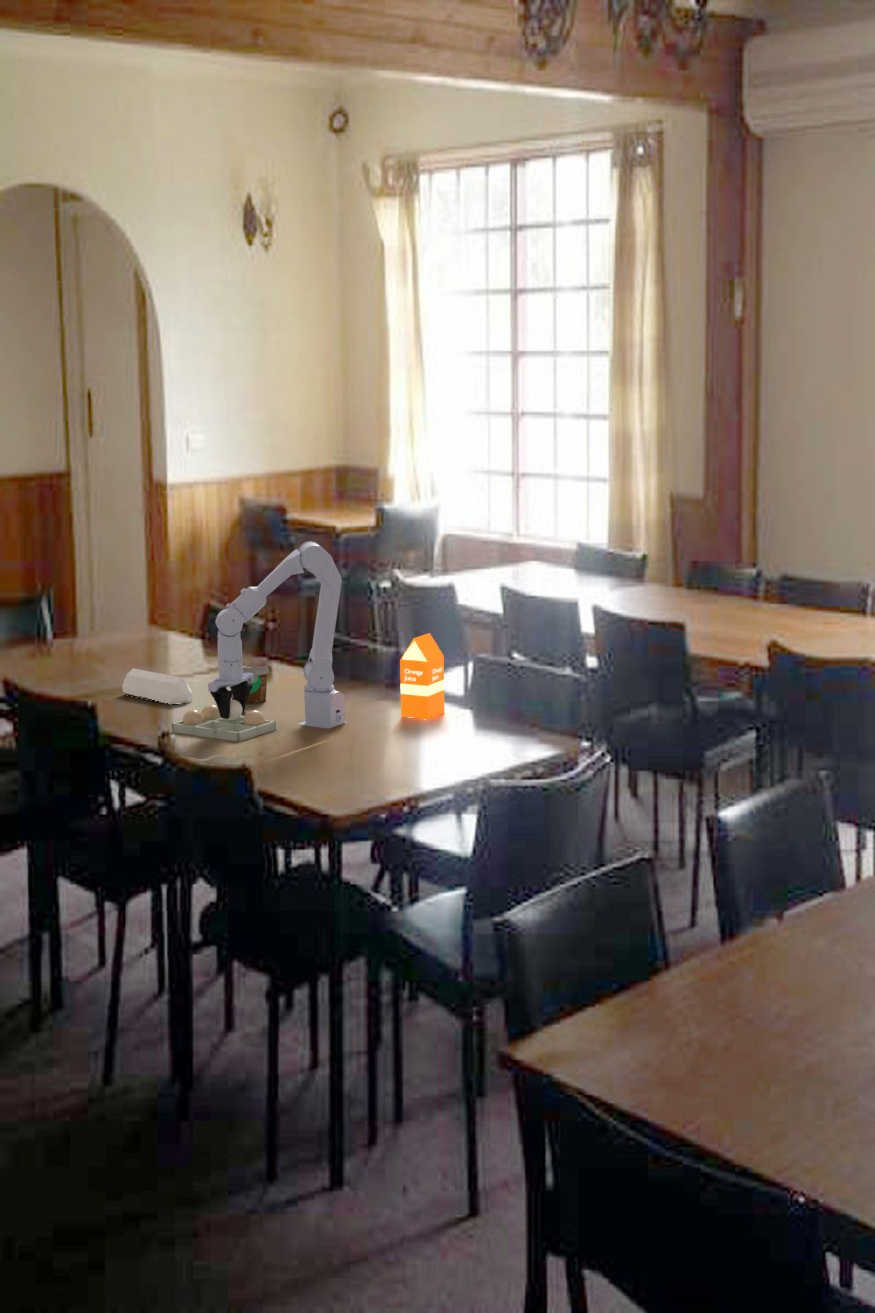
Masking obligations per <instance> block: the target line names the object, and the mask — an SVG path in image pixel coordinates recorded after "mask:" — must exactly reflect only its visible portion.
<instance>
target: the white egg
mask: <svg viewBox="0 0 875 1313" xmlns="http://www.w3.org/2000/svg"><path fill="white" fill-rule="evenodd" d="M241 714H242V705H241V704H240V702H238V701H237V700H234V699H232V698H231V701H230V716H229V718H228V720H236V719H238V718H239V717H242V715H241Z"/></svg>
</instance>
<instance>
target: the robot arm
mask: <svg viewBox="0 0 875 1313" xmlns="http://www.w3.org/2000/svg"><path fill="white" fill-rule="evenodd" d="M304 569H305V570H306V571H308V572H310V573H311V574H313V576H314V577H315V578H316V579H317V580H318V581H319V582H320V586H319V588H320V589H319V596H318V603H317V611H316V618H315V624H314V630H313V631H314V632H313V638H312V645H311V646H312V647H311V649H310V651H309V655H308V656H309V657H308V660H307V662H306V663H305V664H304V666H303V675H304V676H303V677H304V678H305V680H306V681H307V682H306V684H305V685H304V687H303V690H304V691H303V692H304V694H303V695H304V721H302V722H300V723H299V722H298V725H301V726H307V727H314V728H315V727H316V728H321V729H331V728H334V727H337V726H338V727H339V726H340V725H343V724H347V723H348V721H346V699H345V695H344V693H342V692H341V691H339V690H336V689H335V685H334V684H333V683H334V681H335V673H334V671H333V653H332V652H333V646H334V637H335V631H336V624H337V618H338V610H339V609H338V608H339V603H340V596H341V591H342V590H341V589H342V583H343V581H342V575H341V573H340V572H339V570H338V568H337V565H336V564H335V561H334V560H333V556H332V555H331V554H330V553H328V552H327V550H325V548H324V547H322V546H321V545H320V544H319V543H317V542H316V541H305V542H303V543H302V544H301V545H300V546H299V547H298V549H297V548H296V549H295V550H293V551H292V552H290V554H288V555H287V557H285V558H284V559H283V560H282V561H281V562H280V563H279V564H278V565H277V566H276V567H275V568H274V569H273V570H272V571H271V572H270V573H269V574H268V575H267V576H266V577H265V578H264V579H263V580H262V581H261V582H260V583H259V584H258V585H257V586H248V587H247V588H245V587H244V588H243V589H241V590H240V595H239V596H238V597H236V598H235V599H234V600H233V601H231V603H229V602H228V603H227V604H226V606H225V607H226V609H225V608H224V609H223V610H221V611H219V612H218V614H217V615H216V618H215V620H214V622H215V626H216V627H217V629H218V631H217V663H218V664H217V665H218V676H216V677H215V680H213V681H210V682H208V683H207V690H208V692H209V694H210V695H211V696H212V698H213V700H214V701H215V705H216V706H217V707H218V710H219V713H220V716H221V718H225V719H228V718H229V716H230V701H231V699H232V698H231V697H232V694H233V698H234V700H237V701H238V702H240V704H241V705H242V714H244V712H246V711H245V710H246V707H247V706H246V705H247V704H246V702H247V698H248V696H249V693H250V691H251V689H252V684H249V683H248V682H252V681H254V675H253V673H243V666H244V665H243V646H242V645H243V644H242V642H243V641H242V639H241V638H242V637H241V631H242V630H243V625H244V623H247V622H248V621H250V620H251V619H252V618H253V617H254V616H255V615H256V614H257V613H258V612H259V611H260V610H262V609H263V607H265V605H266V604H267V596H269V595H270V594H271V593H272V592H273V591H275V590H276V589H277V588H278V587H280V585H281V584H283V583H284V582H285V581H286V580H287V579H288V578H290V577H291V576H292V575H300V574H304V573H305V571H304ZM227 688H229V689H230V688H231V690H232V691H230V690H228V689H227Z"/></svg>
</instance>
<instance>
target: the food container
mask: <svg viewBox="0 0 875 1313" xmlns="http://www.w3.org/2000/svg"><path fill="white" fill-rule="evenodd" d="M243 673H253V675H254V681H252V682H248V683H249V684H252V689H251V691H250V693H249V696H248V698H247V702H246V705H255V704H262V703H266V702H267V687H268V686H267V683H268V674H270V668H269V666H268V665H263V666H262V665H261V666H252V665H243ZM229 691H232V690H231V688H230V687H229ZM231 699H234V698H233V694H232V697H231Z"/></svg>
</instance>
